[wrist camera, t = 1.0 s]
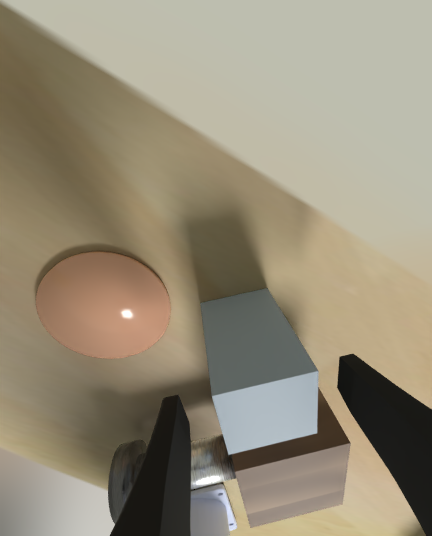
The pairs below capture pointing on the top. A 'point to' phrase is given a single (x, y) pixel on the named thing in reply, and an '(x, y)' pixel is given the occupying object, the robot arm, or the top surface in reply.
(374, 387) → the robot arm
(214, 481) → the rod
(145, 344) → the plate
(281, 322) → the block
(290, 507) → the rod housing
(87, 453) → the top surface
